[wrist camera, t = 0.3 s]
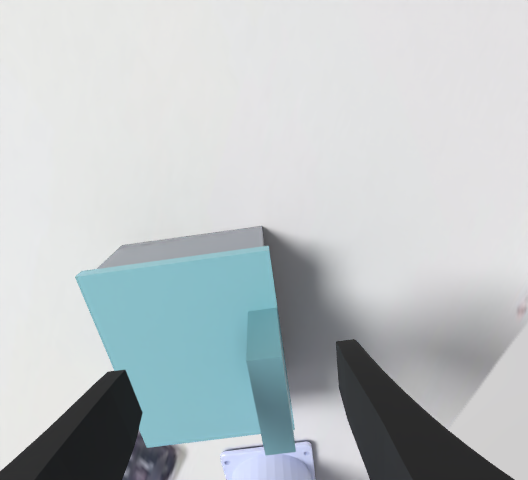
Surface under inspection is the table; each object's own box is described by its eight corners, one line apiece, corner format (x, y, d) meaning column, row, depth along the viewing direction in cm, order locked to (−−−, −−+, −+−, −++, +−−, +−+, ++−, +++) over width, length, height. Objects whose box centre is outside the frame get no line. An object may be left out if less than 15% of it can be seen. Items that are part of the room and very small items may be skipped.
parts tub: (283, 370, 23) (288, 418, 20) (169, 385, 24) (153, 434, 20) (261, 226, 19) (263, 251, 15) (121, 245, 19) (89, 275, 15)
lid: (291, 407, 21) (302, 493, 16) (154, 424, 21) (124, 513, 16) (267, 238, 16) (273, 287, 11) (91, 262, 16) (23, 321, 11)
